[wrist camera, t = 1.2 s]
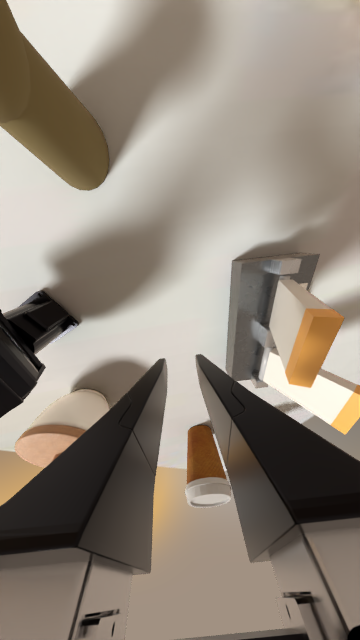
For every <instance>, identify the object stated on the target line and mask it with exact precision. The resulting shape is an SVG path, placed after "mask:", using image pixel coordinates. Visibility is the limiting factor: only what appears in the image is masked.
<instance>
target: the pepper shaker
mask: <svg viewBox="0 0 360 640" xmlns="http://www.w3.org/2000/svg"><path fill="white" fill-rule="evenodd" d="M0 126H1V127H2V128H3V129H5V130H6V131H7V132H8V133H9V134H10V135H12V136H13V137H14V138H15V139H16V140H17V141H19V142H20V143H21V144H22V145H23V146H24V147H26V148H27V149H28V150H29V151H30V152H31V153H33V154H34V155H35V156H36V157H37V158H38V159H40V160H41V161H42V162H43V163H44V164H45V165H47V166H48V167H49V168H50V169H51V170H52V171H54V172H55V173H56V174H57V175H58V176H59V177H61V178H62V179H63V180H64V181H65V182H67V183H68V184H69V185H70V186H73V187H75V188H77V189H79V190H92V189H95V188H97V187H98V186H99V185H100V184H101V183H102V182H103V181H104V180H105V177H106V175H107V173H108V166H109V154H108V146H107V143H106V140H105V138H104V135H103V132H102V130H101V129H100V127H99V125H98V124H97V122H96V120H95V119H94V118H93V116H92V115H91V114H90V113H89V112H88V111H87V109H86V108H85V107H84V106H83V105H82V104H81V102H80V101H79V100H78V99H77V98H76V96H75V95H74V94H73V93H72V92H71V91H70V89H69V88H68V87H67V86H66V85H65V83H64V82H63V81H62V80H61V79H60V78H59V76H58V75H57V74H56V73H55V72H54V71H53V69H52V68H51V67H50V66H49V65H48V63H47V62H46V61H45V60H44V59H43V58H42V56H41V55H40V54H39V53H38V52H37V51H36V49H35V48H34V47H33V46H32V45H31V43H30V42H29V41H28V40H27V39H26V38H25V36H24V35H23V34H22V33H21V32H20V31H19V28H18V26H17V24H16V22H15V19H14V17H13V15H12V12H11V10H10V8H9V6H8V3H7V1H6V0H0Z"/></svg>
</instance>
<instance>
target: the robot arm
mask: <svg viewBox="0 0 360 640" xmlns="http://www.w3.org/2000/svg"><path fill="white" fill-rule="evenodd" d="M40 294H41V295H42V296H41V295H40ZM73 323H74V324H73ZM77 326H78V322H77V321H76V320H75V319H74V318H73V317H72V316H70V315H69V314H68V313H67V312H66V311H65V310H64V309H63V308H61V307H60V306H59V305H58V304H57V303H56V302H55V301H54V300H53V299H51V298H50V297H49V296H48V295H47V294H46V293H45V292H43V291H38V292H36V293H35V294H33V295H32V296H31V297H30V298H29V299H27V300H26V301H25V302H24V303H23V304H21V305H20V306H19V307H18V308H16V309H13V310H11V311H8V312H6V313H3V314H2V313H1V309H0V418H1V417H2V416H4V415H5V414H6V413H7V412H9V411H10V410H12V409H13V408H15V407H17V406H18V405H20V404H21V403H23V400H24V399H25V398H26V397H27V396H28V395H29V393H30V392H31V391H32V389H33V388H34V387H35V386H36V384H37V381H38V379H39V377H40V376H41V374H42V372H43V371H44V369H45V368H46V367H45V365H44V364H42V363H41V362H40V361H39V359H38V358H37V357H36V356H35V354H37V353H38V352H39V351H40V350H42V349H43V348H44V347H45V346H47V345H48V344H49V343H50V344H52V343H53V342H55V341H56V340H58V339H59V338H61V337H62V336H64V335H65V334H67V333H68V332H70V331H71V330H72V329H74V328H75V327H77ZM196 368H197V373H198V379H199V384H200V388H201V391H202V395H203V398H204V401H205V404H206V407H207V410H208V413H209V416H210V419H211V423H212V426H213V429H214V432H215V435H216V438H217V441H218V444H219V448H220V451H221V454H222V457H223V460H224V463H225V466H226V469H227V472H228V476H229V479H230V483H231V486H232V490H233V494H234V498H235V503H236V507H237V511H238V515H239V519H240V523H241V527H242V532H243V536H244V540H245V544H246V548H247V552H248V556H249V560H250V562H251V563H252V562H253V563H254V562H263V561H271V564H272V567H273V569H274V573H275V576H276V580H277V583H278V586H279V589H280V592H281V596H282V597H276V602H277V606H278V609H279V613H280V616H281V619H282V623H283V626H284V629H276V630H267V631H256V632H247V633H236V634H227V635H216V636H207V637H196V638H186V639H176V640H360V461H359V460H357V459H355V458H354V457H352V456H351V455H349V454H347V453H346V452H344V451H343V450H341V449H340V448H338V447H336V446H335V445H333V444H332V443H330V442H328V441H327V440H325V439H324V438H322V437H321V436H319V435H318V434H316V433H314V432H313V431H311V430H310V429H308V428H307V427H305V426H303V425H302V424H300V423H299V422H297V421H296V420H294V419H292V418H291V417H289V416H288V415H286V414H285V413H283V412H281V411H280V410H278V409H277V408H275V407H274V406H272V405H270V404H269V403H267V402H266V401H264V400H263V399H261V398H259V397H258V396H256V395H255V394H253V393H252V392H250V391H249V390H247V389H246V388H245V387H243V386H242V385H241V384H239V383H238V382H237V381H235V380H234V379H233V378H231V377H230V376H229V375H227V374H226V373H225V372H224V371H222V370H221V369H220V368H218V367H217V366H216V365H215V364H213V363H212V362H211V361H209V360H208V359H207V358H205V357H204V356H203V355H201V354H199V355H196ZM166 396H167V365H166V360H165V358H163V359H159V360H158V361H157V362H156V363H155V364H154V365H153V366H152V367H151V368H150V369H149V370H148V371H147V372H146V373H145V375H144V376H143V377H142V378H141V379H140V380H139V381H138V382H137V383H136V384H135V385H134V386H133V387H132V388H131V389H130V390H129V391H128V393H126V394H125V395H124V396H123V397H122V398H121V399H120V400H119V401H118V402H117V403H116V404H115V405H114V406H113V407H112V408H111V409H110V410H109V411H108V412H107V413H106V414H105V415H103V416H102V417H101V418H100V419H99V420H98V421H97V422H96V423H95V424H93V425H92V426H91V427H90V428H89V429H88V430H87V431H86V432H85V433H83V434H82V435H81V436H80V437H79V438H78V439H77V440H76V441H74V442H73V443H72V444H71V445H70V446H69V447H68V448H67V449H66V450H64V451H63V452H62V453H61V454H60V455H59V456H58V457H57V458H55V459H54V460H53V461H52V462H51V463H50V464H49V465H48V466H47V467H45V468H44V469H43V470H42V471H41V472H40V473H39V474H38V475H37V476H35V477H34V478H33V479H32V480H31V481H30V482H29V483H28V484H27V485H25V486H24V487H23V488H22V489H21V490H20V491H19V492H18V493H16V494H15V495H14V496H13V497H12V498H11V499H9V500H8V501H7V502H6V503H4V504H3V505H1V506H0V640H125V632H126V623H127V616H128V607H129V599H130V591H131V583H132V575H138V574H146V573H147V574H148V573H150V571H151V551H152V524H153V495H154V494H153V493H154V484H155V476H156V468H157V461H158V454H159V447H160V439H161V432H162V425H163V417H164V410H165V403H166Z"/></svg>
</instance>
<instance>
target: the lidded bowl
mask: <svg viewBox="0 0 360 640" xmlns="http://www.w3.org/2000/svg"><path fill="white" fill-rule="evenodd" d="M109 410H110V408H109V405H108V403H107V400H106V398H105V396H104V395H103V394H101V393H100V392H98V391H95V390H91V389H80V390H77V391H75V392H73V393H70V394H67V395H65V396H63V397H61V398H59V399H57V400H56V401H54V402H53V403H52V404H50V405H49V406H48V407H47V408H46V409H45V410H44V411H43V412H42V413H41V414H40V415H39V416H38V417H37V418H36V419H35V421H34V422H33V423H32V424H31V426H30V427H29V428H28V429H27V431H25V432H24V433H23V434H22V435H21V437H20V438H19V439H18V440H17V442H16V444H15V451H16V453H17V454H18V455H19V456H20V457H21V458H23V459H24V460H26V461H27V462H30V463H32V464H35V465H37V466H41V467H47V466H48V465H49V464H50V463H51V462H52V461H53V460H54V459H55V458H57V457H58V456H59V455H60V454H61V453H62V452H63V451H64V450H66V449H67V448H68V447H69V446H70V445H71V444H72V443H73V442H74V441H76V440H77V439H78V438H79V437H80V436H81V435H82V434H83V433H85V432H86V431H87V430H88V429H89V428H90V427H91V426H92V425H93V424H95V423H96V422H97V421H98V420H99V419H100V418H101V417H102V416H103V415H105V414H106V413H107V412H108V411H109Z"/></svg>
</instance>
